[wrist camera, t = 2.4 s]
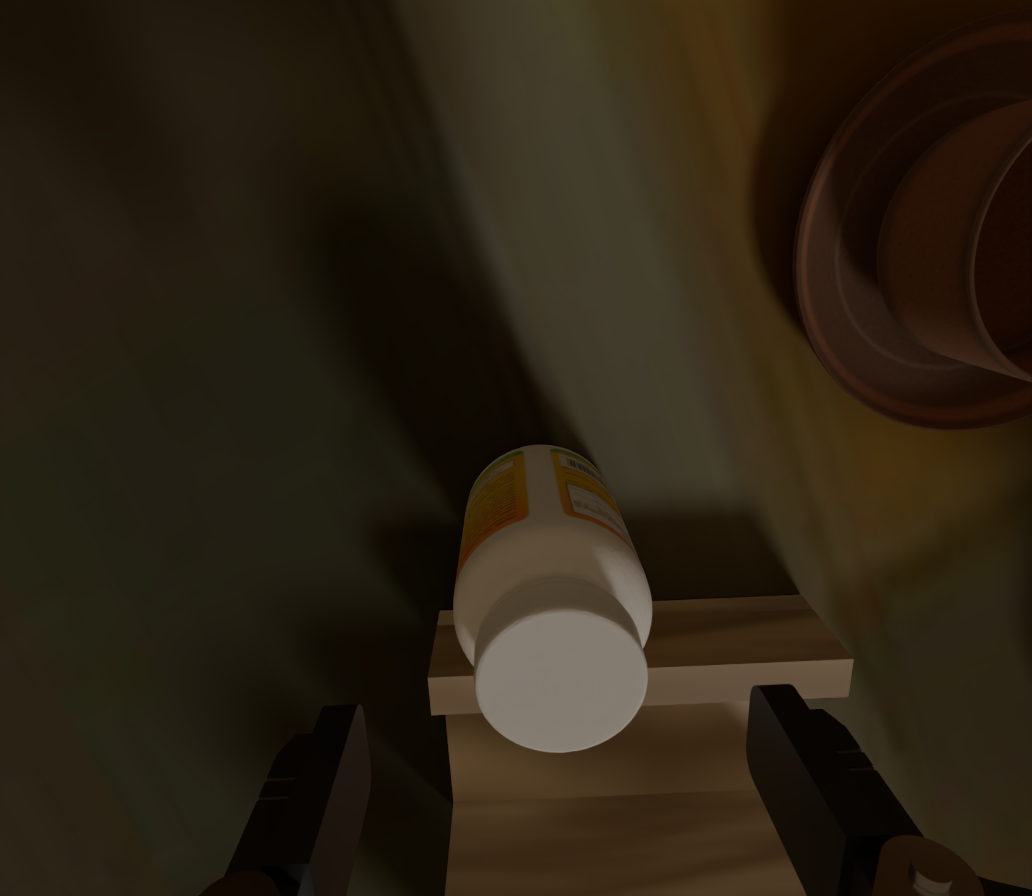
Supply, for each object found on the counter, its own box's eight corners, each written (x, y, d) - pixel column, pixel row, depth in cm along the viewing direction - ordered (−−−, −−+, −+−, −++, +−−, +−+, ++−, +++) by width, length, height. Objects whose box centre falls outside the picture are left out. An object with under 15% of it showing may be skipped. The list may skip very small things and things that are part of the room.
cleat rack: (439, 610, 25) (404, 805, 16) (800, 594, 25) (954, 781, 16) (457, 810, 28) (436, 1061, 20) (778, 796, 28) (897, 1041, 20)
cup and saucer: (1213, 69, 20) (1513, -2, 14) (1048, 439, 23) (1230, 508, 18) (838, -9, 19) (987, -118, 13) (729, 387, 23) (807, 440, 17)
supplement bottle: (471, 579, 25) (451, 785, 15) (461, 445, 23) (430, 586, 14) (613, 572, 25) (677, 774, 15) (612, 437, 23) (684, 573, 14)
